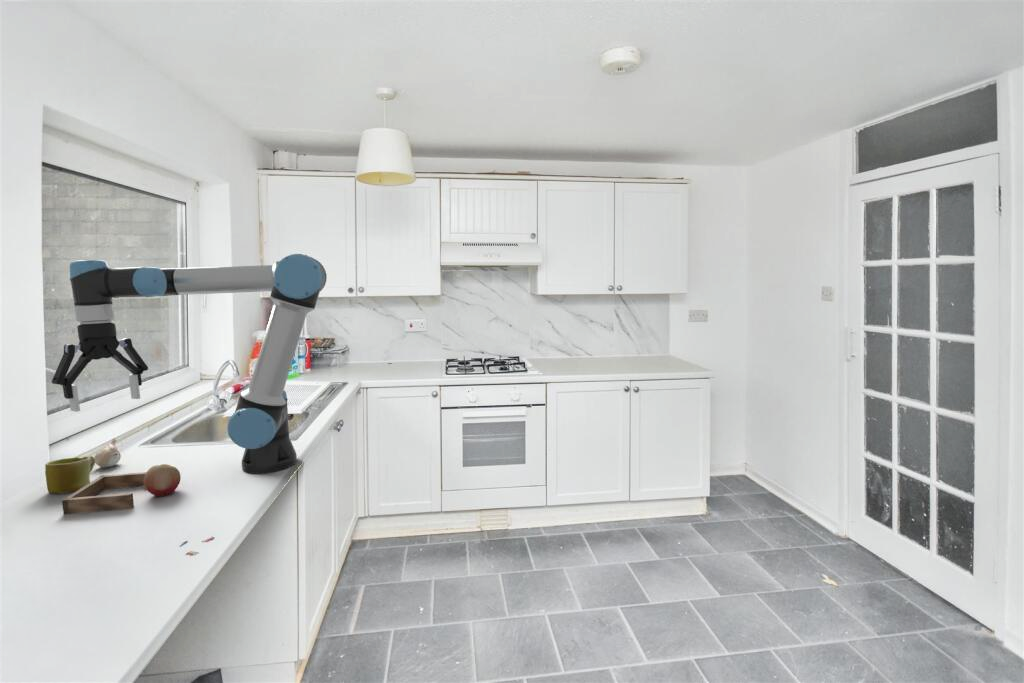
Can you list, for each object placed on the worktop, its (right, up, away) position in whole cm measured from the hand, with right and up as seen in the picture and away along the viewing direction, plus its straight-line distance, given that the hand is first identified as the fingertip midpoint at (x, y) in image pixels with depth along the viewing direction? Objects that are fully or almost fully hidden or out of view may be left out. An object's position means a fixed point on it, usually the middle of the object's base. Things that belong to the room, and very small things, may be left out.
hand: (107, 404), depth 131 cm
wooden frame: (+2, -24, +1) cm, 24 cm away
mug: (-15, -24, +8) cm, 29 cm away
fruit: (+13, -24, +3) cm, 27 cm away
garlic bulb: (-19, -22, +24) cm, 37 cm away
